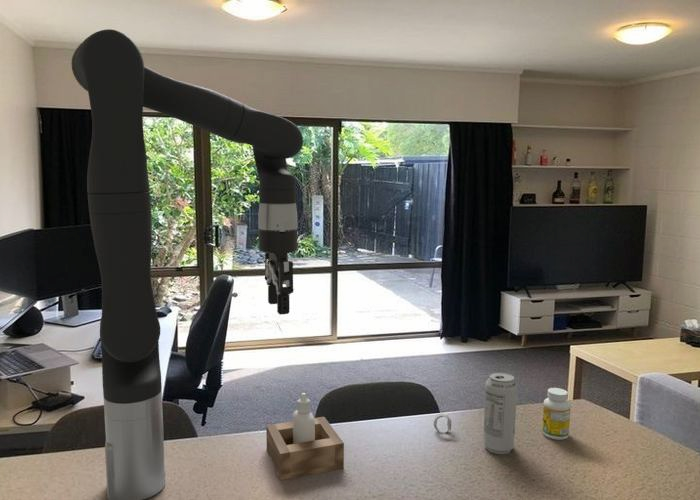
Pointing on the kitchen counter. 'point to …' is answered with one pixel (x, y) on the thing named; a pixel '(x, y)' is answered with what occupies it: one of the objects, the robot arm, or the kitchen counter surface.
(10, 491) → the kitchen counter surface
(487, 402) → the energy drink can
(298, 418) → the eye dropper bottle
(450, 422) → the smartwatch
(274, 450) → the socket block
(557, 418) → the supplement bottle
